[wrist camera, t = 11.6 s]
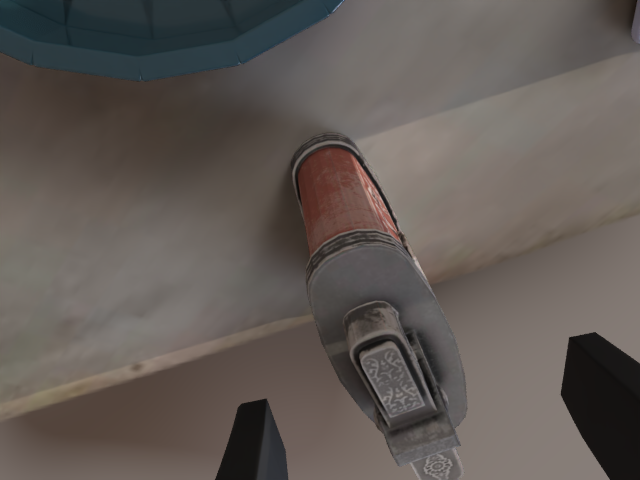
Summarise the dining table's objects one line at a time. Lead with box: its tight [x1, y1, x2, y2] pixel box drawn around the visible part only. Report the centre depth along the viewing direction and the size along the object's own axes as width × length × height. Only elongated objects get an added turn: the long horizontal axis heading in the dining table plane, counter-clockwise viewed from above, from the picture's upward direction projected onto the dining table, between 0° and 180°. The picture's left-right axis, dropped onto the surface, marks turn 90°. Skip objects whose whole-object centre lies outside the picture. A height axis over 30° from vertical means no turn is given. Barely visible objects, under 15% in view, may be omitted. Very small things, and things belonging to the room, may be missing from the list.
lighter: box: [291, 133, 467, 480], centre depth 15 cm, size 8×3×10 cm, turn 23°
